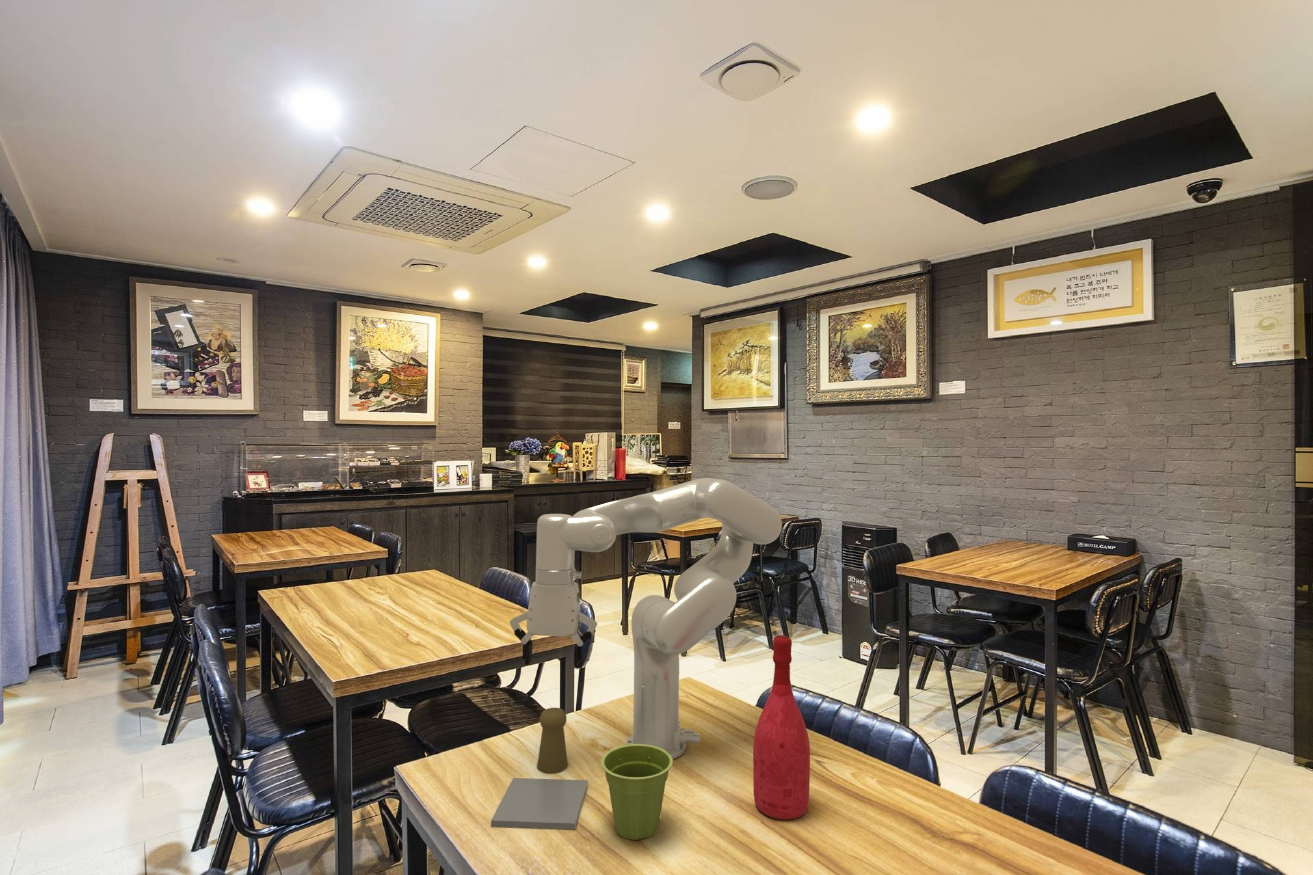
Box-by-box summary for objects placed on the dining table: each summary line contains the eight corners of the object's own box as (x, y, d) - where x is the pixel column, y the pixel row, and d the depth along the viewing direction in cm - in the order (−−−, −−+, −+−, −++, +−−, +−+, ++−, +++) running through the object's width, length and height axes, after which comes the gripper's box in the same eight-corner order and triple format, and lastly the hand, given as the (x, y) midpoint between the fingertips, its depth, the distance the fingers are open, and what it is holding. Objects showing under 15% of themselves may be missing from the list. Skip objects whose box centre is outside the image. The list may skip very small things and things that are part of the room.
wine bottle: (812, 798, 117) (813, 631, 118) (806, 827, 108) (807, 646, 108) (758, 788, 120) (759, 626, 121) (747, 816, 111) (749, 640, 112)
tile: (587, 785, 121) (587, 780, 121) (575, 829, 107) (575, 823, 107) (513, 783, 121) (513, 777, 121) (490, 826, 107) (491, 820, 107)
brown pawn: (561, 775, 124) (562, 717, 125) (532, 771, 126) (533, 714, 126) (572, 760, 130) (572, 705, 130) (543, 757, 131) (544, 702, 132)
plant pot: (604, 807, 113) (605, 742, 114) (672, 809, 113) (672, 744, 113) (595, 849, 101) (597, 776, 102) (671, 851, 101) (672, 778, 101)
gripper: (600, 574, 132) (598, 659, 132) (516, 572, 133) (514, 656, 132) (595, 581, 125) (593, 671, 124) (506, 579, 125) (504, 668, 125)
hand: (552, 663), depth 128 cm, fingers open, 9 cm apart
